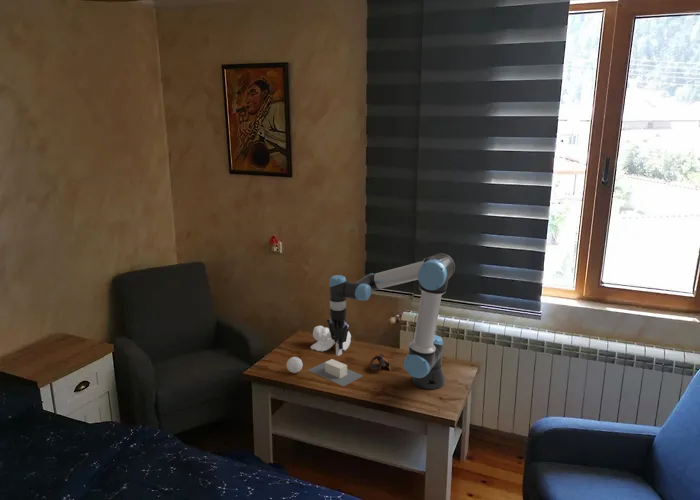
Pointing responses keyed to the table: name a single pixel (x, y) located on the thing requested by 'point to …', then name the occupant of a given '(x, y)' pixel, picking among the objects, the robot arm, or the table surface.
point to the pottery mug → (381, 360)
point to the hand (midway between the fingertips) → (339, 354)
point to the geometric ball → (294, 364)
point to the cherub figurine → (326, 339)
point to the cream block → (336, 368)
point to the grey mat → (342, 381)
